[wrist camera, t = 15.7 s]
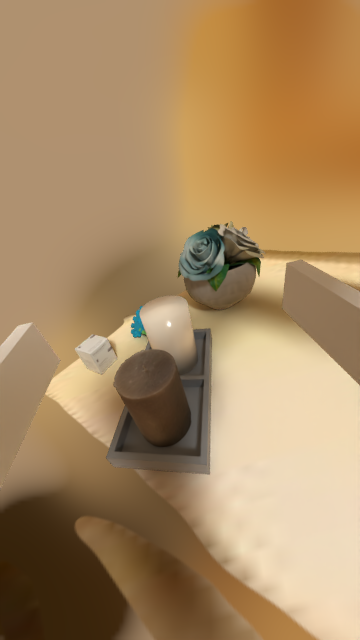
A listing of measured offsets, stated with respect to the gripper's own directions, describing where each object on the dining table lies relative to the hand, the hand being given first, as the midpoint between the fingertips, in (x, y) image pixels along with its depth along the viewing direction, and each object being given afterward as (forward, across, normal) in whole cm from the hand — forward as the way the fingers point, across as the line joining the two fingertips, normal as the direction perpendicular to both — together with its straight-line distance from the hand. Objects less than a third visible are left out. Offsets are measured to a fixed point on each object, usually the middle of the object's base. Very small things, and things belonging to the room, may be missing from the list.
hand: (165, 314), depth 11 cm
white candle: (+28, -2, -31) cm, 42 cm away
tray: (+20, -4, -32) cm, 38 cm away
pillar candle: (+13, -6, -31) cm, 34 cm away
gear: (+44, -11, -32) cm, 55 cm away
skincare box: (+34, -22, -32) cm, 52 cm away
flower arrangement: (+50, +15, -32) cm, 61 cm away
